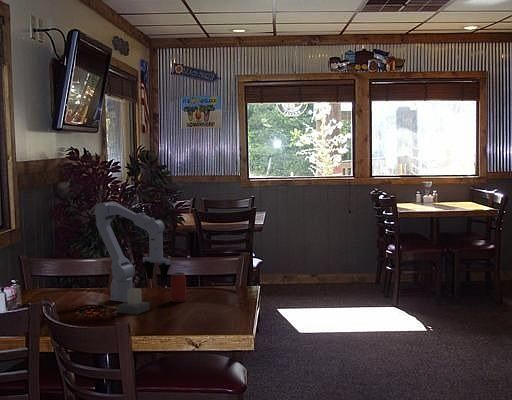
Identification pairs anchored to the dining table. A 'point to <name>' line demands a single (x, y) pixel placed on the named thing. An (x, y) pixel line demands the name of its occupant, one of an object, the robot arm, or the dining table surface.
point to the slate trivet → (134, 308)
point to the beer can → (178, 287)
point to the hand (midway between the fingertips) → (156, 279)
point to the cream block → (134, 296)
